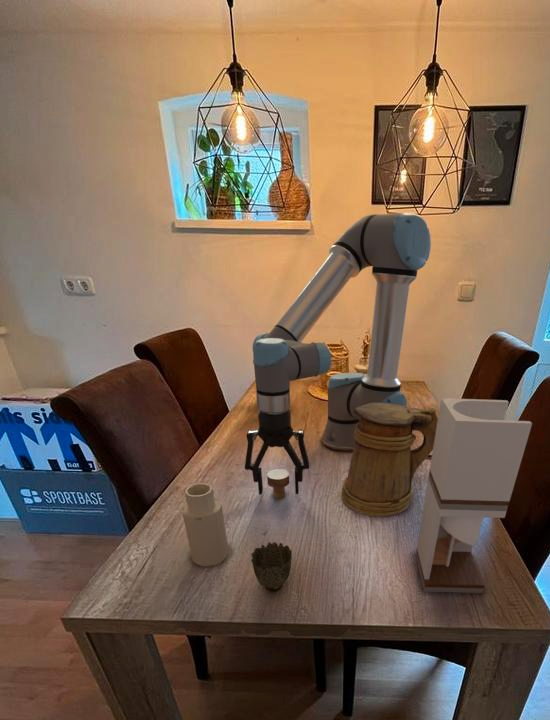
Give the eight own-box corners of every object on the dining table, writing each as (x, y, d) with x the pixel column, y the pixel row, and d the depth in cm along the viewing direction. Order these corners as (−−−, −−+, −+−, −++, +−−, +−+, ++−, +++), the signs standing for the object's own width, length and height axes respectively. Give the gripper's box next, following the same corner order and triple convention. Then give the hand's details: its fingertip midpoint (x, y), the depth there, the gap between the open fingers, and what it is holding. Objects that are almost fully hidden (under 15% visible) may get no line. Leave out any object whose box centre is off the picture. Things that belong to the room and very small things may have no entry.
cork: (290, 489, 107) (289, 468, 104) (289, 501, 102) (288, 479, 99) (269, 490, 106) (267, 468, 103) (267, 501, 102) (266, 479, 98)
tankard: (337, 482, 111) (339, 396, 99) (417, 479, 114) (430, 395, 102) (346, 519, 96) (350, 423, 83) (438, 515, 99) (456, 421, 86)
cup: (256, 573, 79) (253, 541, 75) (293, 572, 80) (292, 540, 76) (252, 601, 73) (248, 569, 68) (292, 600, 73) (291, 567, 69)
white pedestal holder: (424, 591, 76) (456, 420, 59) (415, 555, 85) (441, 398, 68) (482, 592, 77) (532, 423, 59) (468, 556, 86) (507, 400, 68)
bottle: (231, 542, 87) (221, 479, 79) (225, 565, 81) (214, 499, 72) (196, 543, 86) (184, 480, 78) (188, 566, 80) (173, 500, 72)
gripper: (319, 404, 96) (319, 483, 108) (230, 403, 95) (239, 484, 106) (320, 415, 90) (320, 498, 101) (224, 414, 88) (235, 500, 99)
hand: (279, 491), depth 104 cm, fingers open, 9 cm apart
